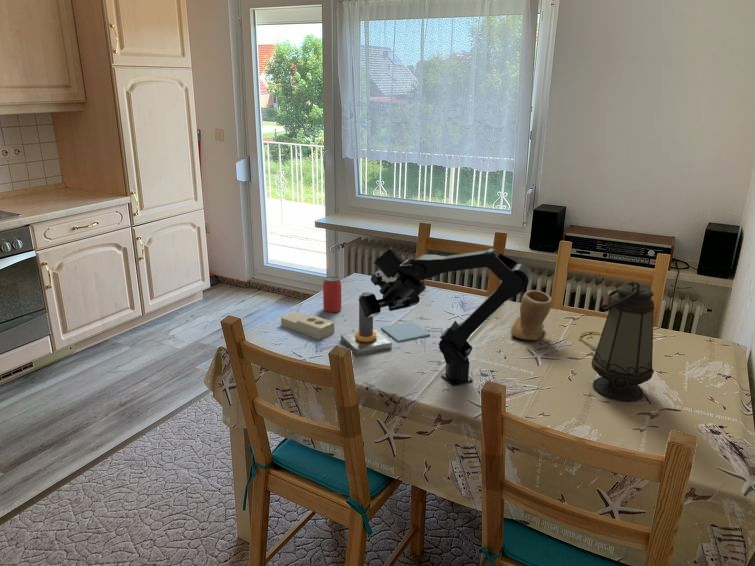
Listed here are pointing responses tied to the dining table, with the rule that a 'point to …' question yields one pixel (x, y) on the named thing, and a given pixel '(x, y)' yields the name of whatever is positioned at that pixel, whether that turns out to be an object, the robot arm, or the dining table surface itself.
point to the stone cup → (531, 315)
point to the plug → (365, 326)
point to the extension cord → (589, 344)
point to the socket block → (367, 347)
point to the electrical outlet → (308, 324)
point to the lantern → (625, 344)
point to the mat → (405, 331)
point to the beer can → (332, 294)
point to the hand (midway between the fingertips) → (377, 312)
